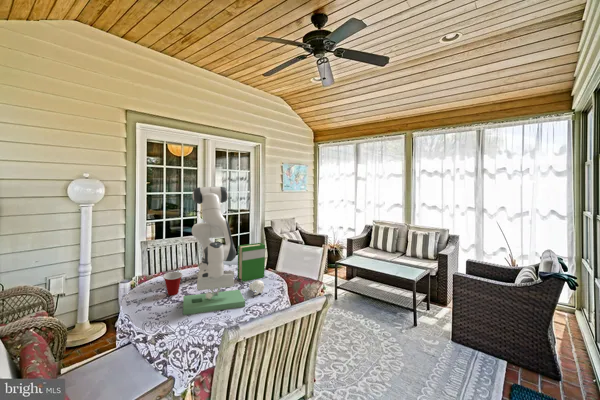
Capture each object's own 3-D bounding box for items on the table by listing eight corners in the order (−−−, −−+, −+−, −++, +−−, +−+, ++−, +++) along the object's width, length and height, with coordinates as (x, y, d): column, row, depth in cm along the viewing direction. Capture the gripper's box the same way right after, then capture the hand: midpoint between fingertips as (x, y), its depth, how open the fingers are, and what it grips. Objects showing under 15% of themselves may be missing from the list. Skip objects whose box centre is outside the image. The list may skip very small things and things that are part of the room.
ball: (207, 290, 163) (213, 292, 165) (203, 296, 163) (210, 299, 164) (207, 292, 160) (214, 294, 161) (204, 299, 159) (211, 301, 160)
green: (183, 301, 166) (183, 296, 165) (239, 294, 178) (239, 289, 177) (183, 314, 149) (183, 309, 149) (245, 306, 161) (245, 301, 161)
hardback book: (242, 281, 199) (242, 247, 197) (237, 278, 205) (237, 245, 203) (264, 277, 210) (264, 244, 208) (259, 274, 216) (259, 242, 214)
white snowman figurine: (256, 282, 174) (245, 278, 183) (257, 296, 174) (246, 292, 183) (265, 280, 179) (254, 276, 187) (265, 293, 179) (254, 290, 187)
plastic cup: (160, 297, 169) (160, 277, 168) (165, 290, 180) (165, 272, 179) (180, 297, 171) (180, 277, 170) (184, 290, 182) (184, 271, 181)
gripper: (233, 268, 169) (233, 291, 170) (196, 271, 161) (196, 295, 162) (235, 271, 163) (235, 295, 164) (197, 275, 156) (197, 300, 156)
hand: (215, 295), depth 163 cm, fingers closed
